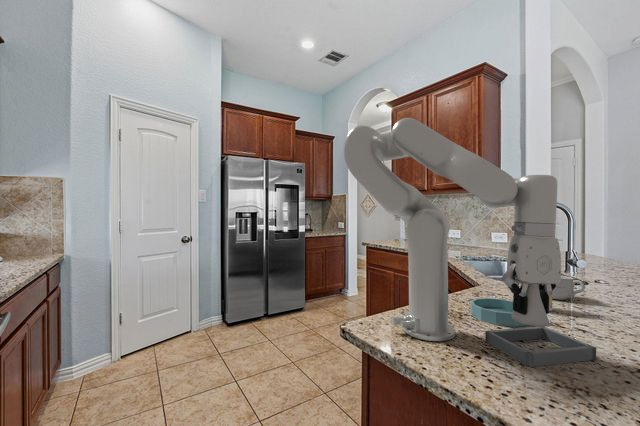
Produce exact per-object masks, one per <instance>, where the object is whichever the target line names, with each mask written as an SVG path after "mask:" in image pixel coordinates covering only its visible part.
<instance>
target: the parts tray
mask: <svg viewBox="0 0 640 426" xmlns="http://www.w3.org/2000/svg"><path fill="white" fill-rule="evenodd" d="M484 334H485V337H484V338H485V340H484V342H486V343H487V344H489V345H490V346H492V347H494V348H496V349H498V350H499V351H502V352H503V353H504V354H506V355H508V356H510V357H512V358H513V359H515V360H517V361H518V362H520V363H521V364H523V365H524V366H527V367H529V368H535V367H536V368H537V367H544V366H545V367H546V366H552V365H561V364H569V363H577V362H578V363H579V362H580V363H581V362H587V361H595V360H597V347H596V346H594V345H591V344H589V343H586V342H583V341H581V340H578V339H575V338H573V337H571V336H568V335H566V334H564V333H562V332H558V331H556V330H553V329H551V328H549V327H547V326H546V327H538V326H529V327H527V326H526V327H518V328H517V327H516V328H514V327H513V328H505V329H494V330H485V332H484ZM538 339H540V340H541V339H544V340H547V341H549V342H551V343H553V344H556V345H558V346H559V347H562V348H553V349H542V350H534V351H533V350H532V351H529V350H527V349H525V348H523V347H521V346H519V345H517V344H515V343H514V342H517V341H527V340H528V341H529V340H538Z"/></svg>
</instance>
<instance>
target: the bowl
mask: <svg viewBox="0 0 640 426" xmlns="http://www.w3.org/2000/svg"><path fill="white" fill-rule="evenodd" d="M469 307H470V309H469V311H470V315H471V317H473V318H475V319H476V320H479V321H481V322H484V323H488V324H491V325H496V326H501V327H502V326H504V327H513V328H514V327H516V328H517V327H525V326H526V327H527V326H528V325H527V324H522V323H520V322H518V321H516V320H514V319H512V316H511V315H512V313H513V311H514V310H513V300H507V299H504V298H502V299H501V298H495V297H494V298H492V297H479V298H478V297H477V298H474V299H472V300H470V301H469Z"/></svg>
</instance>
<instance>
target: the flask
mask: <svg viewBox="0 0 640 426" xmlns="http://www.w3.org/2000/svg"><path fill="white" fill-rule="evenodd" d="M525 296H526V297H528V306H527V314H526V315H523V314H520V313H518V312H516V311H513V313H512V315H511V316H512V319H514V320H516V321H518V322H520V323H522V324H527V325H526V326H532V327H546V328H547V327H551V323H550V321H549V318H548V317H549V316H548V314H546V312H545V309H544V306H543V303H542V300H541V297H540V291H539V284H528V287H527V291H526V294H525Z"/></svg>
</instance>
